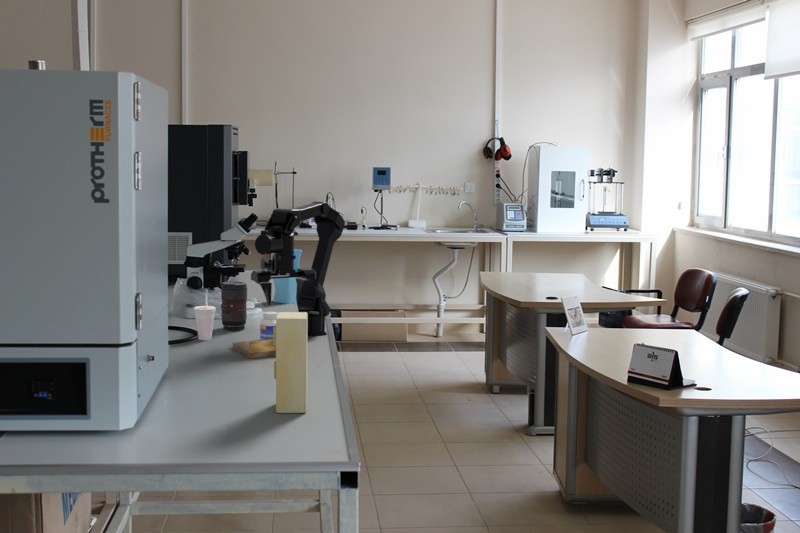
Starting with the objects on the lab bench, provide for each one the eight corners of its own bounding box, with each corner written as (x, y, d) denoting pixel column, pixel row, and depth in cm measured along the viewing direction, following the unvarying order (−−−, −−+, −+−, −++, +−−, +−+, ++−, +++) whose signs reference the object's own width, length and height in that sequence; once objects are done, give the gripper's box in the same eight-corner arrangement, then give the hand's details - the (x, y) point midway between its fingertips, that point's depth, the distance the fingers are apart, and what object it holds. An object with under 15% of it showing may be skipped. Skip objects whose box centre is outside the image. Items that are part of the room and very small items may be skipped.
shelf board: (280, 342, 239) (280, 327, 238) (300, 352, 227) (300, 337, 226) (232, 347, 231) (232, 332, 230) (250, 358, 219) (250, 342, 218)
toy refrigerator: (274, 402, 180) (275, 311, 178) (307, 402, 181) (308, 311, 178) (271, 413, 172) (272, 318, 170) (306, 413, 173) (307, 318, 170)
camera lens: (244, 332, 252) (244, 285, 250) (218, 331, 252) (218, 284, 250) (249, 326, 260) (249, 281, 258) (224, 325, 260) (224, 280, 258)
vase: (288, 304, 302) (288, 251, 299) (272, 301, 306) (273, 249, 304) (301, 301, 309) (302, 250, 306) (286, 298, 313) (286, 248, 310)
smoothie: (210, 342, 237) (210, 295, 235) (190, 340, 238) (190, 294, 236) (219, 337, 243) (219, 292, 241) (199, 336, 244) (199, 291, 242)
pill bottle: (257, 347, 224) (257, 313, 223) (264, 343, 230) (264, 310, 228) (275, 349, 223) (275, 314, 222) (282, 344, 229) (282, 311, 227)
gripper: (301, 247, 246) (300, 297, 248) (244, 249, 236) (243, 301, 238) (317, 251, 237) (316, 303, 239) (258, 253, 227) (258, 307, 229)
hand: (283, 303), depth 236 cm, fingers open, 9 cm apart
